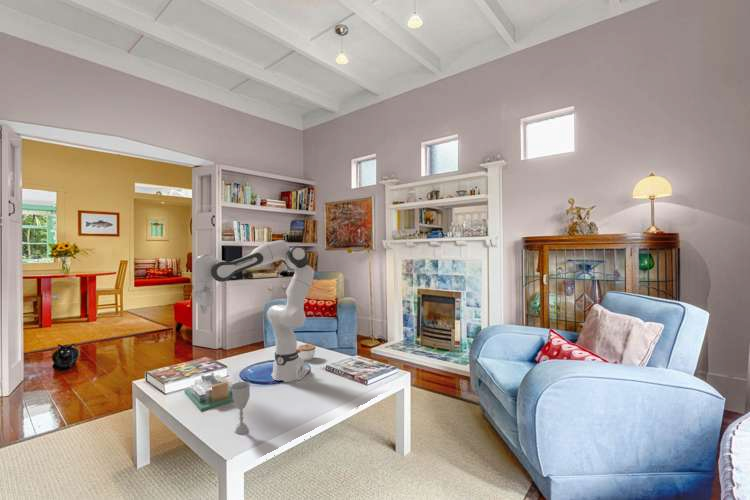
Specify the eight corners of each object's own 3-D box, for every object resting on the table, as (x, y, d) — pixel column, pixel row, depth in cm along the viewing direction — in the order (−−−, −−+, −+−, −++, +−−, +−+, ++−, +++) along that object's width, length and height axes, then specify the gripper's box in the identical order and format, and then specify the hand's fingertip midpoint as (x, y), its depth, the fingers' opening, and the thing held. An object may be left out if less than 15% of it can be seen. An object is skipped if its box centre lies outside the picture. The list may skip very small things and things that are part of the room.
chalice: (234, 437, 133) (234, 390, 133) (229, 430, 139) (228, 384, 138) (254, 430, 138) (253, 385, 138) (247, 423, 143) (247, 380, 143)
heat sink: (190, 392, 170) (189, 377, 170) (223, 383, 181) (222, 369, 180) (200, 403, 158) (200, 387, 158) (234, 393, 169) (234, 378, 169)
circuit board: (184, 392, 173) (184, 389, 173) (222, 382, 185) (222, 380, 185) (200, 411, 154) (200, 408, 154) (241, 398, 166) (241, 396, 166)
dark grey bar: (202, 378, 174) (202, 375, 174) (211, 376, 176) (211, 373, 176) (213, 388, 162) (213, 384, 162) (222, 386, 165) (222, 382, 165)
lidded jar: (309, 355, 229) (309, 340, 229) (318, 359, 221) (318, 344, 220) (294, 358, 222) (294, 343, 222) (303, 363, 214) (303, 347, 213)
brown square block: (210, 401, 161) (210, 385, 161) (226, 396, 166) (226, 381, 165) (212, 402, 159) (211, 386, 159) (228, 398, 164) (227, 382, 164)
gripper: (216, 287, 176) (216, 315, 177) (203, 283, 191) (204, 309, 192) (202, 289, 172) (203, 317, 173) (190, 285, 187) (191, 310, 188)
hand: (203, 313), depth 182 cm, fingers closed
